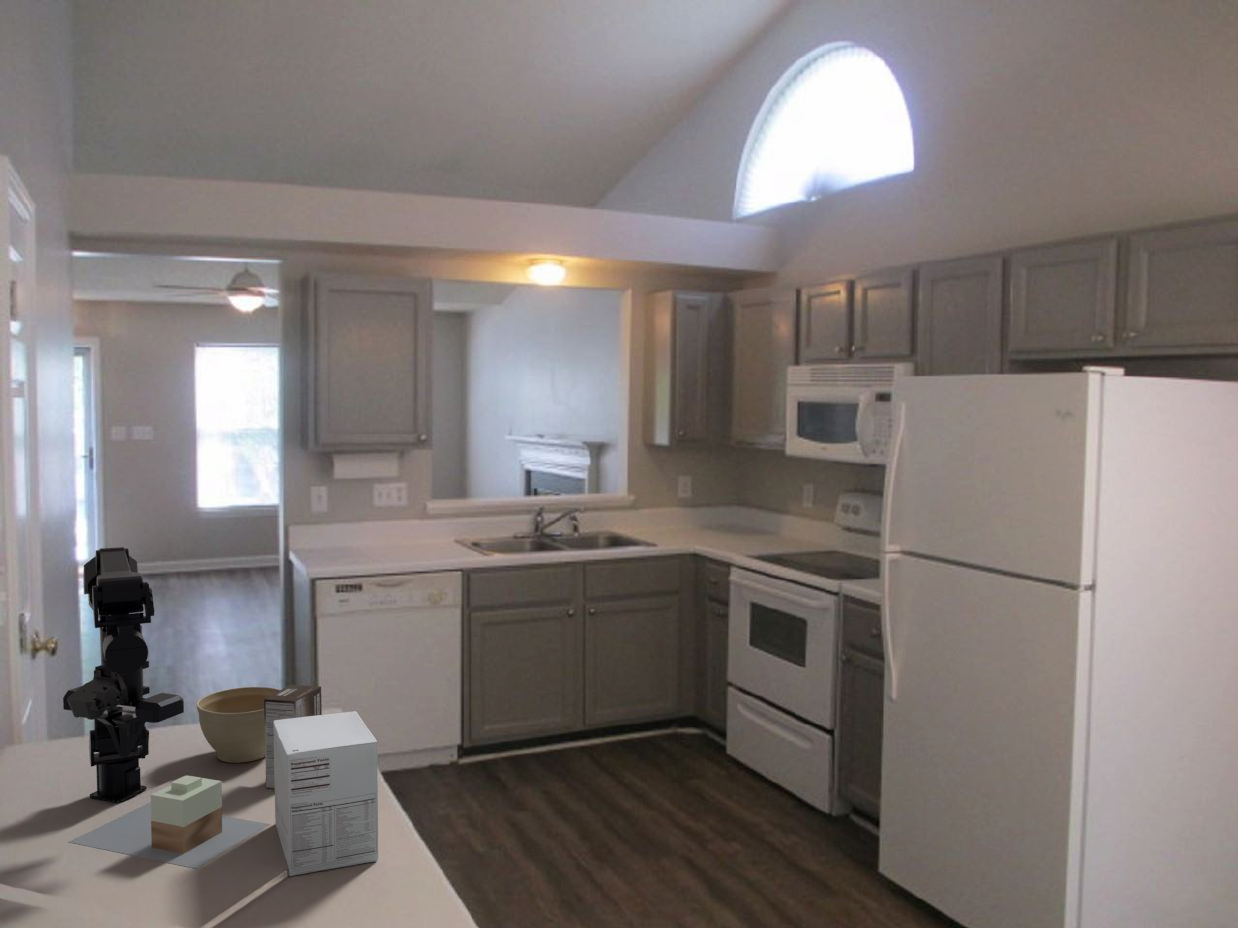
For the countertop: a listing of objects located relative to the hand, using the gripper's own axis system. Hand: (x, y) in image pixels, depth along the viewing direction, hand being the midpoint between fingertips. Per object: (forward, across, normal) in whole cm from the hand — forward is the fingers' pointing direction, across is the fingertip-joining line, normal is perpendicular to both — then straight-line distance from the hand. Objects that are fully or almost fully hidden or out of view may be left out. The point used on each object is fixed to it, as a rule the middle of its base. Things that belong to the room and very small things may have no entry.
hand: (124, 756), depth 158 cm
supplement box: (+13, +31, +8) cm, 34 cm away
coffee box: (+13, +10, +28) cm, 32 cm away
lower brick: (+11, +12, 0) cm, 16 cm away
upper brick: (+7, +12, 0) cm, 14 cm away
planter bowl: (+13, -7, +35) cm, 38 cm away
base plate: (+12, +8, +1) cm, 15 cm away
